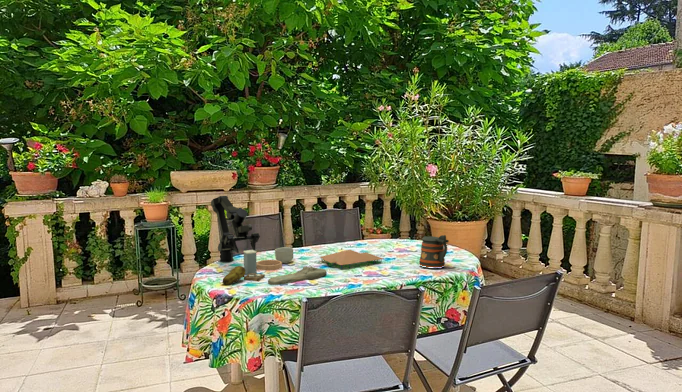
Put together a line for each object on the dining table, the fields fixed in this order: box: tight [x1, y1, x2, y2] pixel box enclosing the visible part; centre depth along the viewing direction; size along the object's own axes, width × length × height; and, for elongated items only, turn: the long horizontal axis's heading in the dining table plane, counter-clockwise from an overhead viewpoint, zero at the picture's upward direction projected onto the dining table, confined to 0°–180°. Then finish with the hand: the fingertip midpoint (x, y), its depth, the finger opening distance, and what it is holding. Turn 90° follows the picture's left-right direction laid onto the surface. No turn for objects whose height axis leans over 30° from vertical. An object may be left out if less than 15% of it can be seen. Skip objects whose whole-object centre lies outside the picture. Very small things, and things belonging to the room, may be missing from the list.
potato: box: [222, 265, 246, 286], centre depth 247 cm, size 8×13×8 cm, turn 127°
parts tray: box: [243, 273, 266, 282], centre depth 254 cm, size 8×8×2 cm
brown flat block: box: [319, 249, 384, 270], centre depth 292 cm, size 23×33×8 cm
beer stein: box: [418, 234, 449, 267], centre depth 284 cm, size 19×15×20 cm
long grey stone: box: [267, 265, 328, 286], centre depth 256 cm, size 35×5×10 cm
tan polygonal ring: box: [256, 259, 283, 271], centre depth 278 cm, size 14×14×3 cm
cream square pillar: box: [243, 249, 258, 276], centre depth 263 cm, size 5×5×13 cm
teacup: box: [274, 246, 294, 264], centre depth 293 cm, size 14×11×8 cm
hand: (246, 251), depth 266 cm, fingers open, 9 cm apart
